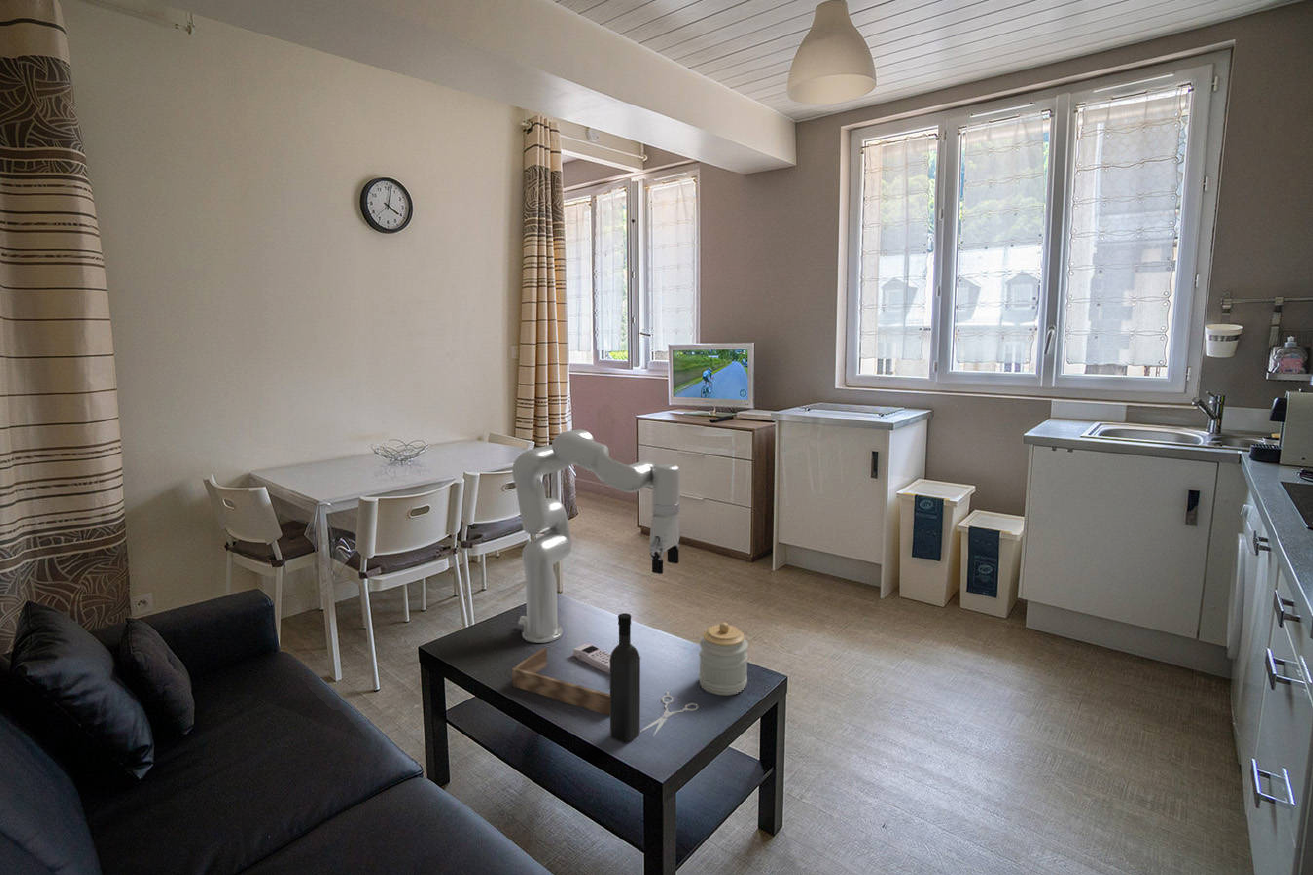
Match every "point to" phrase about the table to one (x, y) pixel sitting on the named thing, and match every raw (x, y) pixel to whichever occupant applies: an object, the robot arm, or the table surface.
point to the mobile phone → (593, 657)
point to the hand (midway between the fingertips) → (665, 567)
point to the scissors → (668, 713)
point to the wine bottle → (624, 685)
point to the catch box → (557, 685)
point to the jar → (723, 660)
